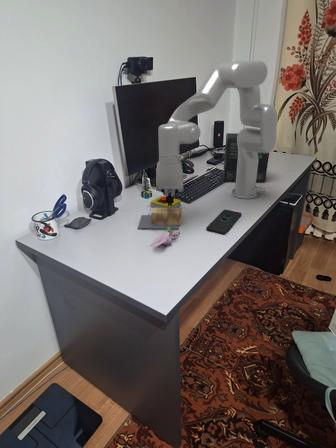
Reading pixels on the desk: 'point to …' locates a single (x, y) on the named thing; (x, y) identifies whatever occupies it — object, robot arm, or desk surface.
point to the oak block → (166, 216)
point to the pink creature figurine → (166, 237)
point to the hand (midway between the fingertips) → (170, 204)
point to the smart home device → (223, 222)
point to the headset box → (232, 160)
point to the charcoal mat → (147, 224)
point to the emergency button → (161, 203)
